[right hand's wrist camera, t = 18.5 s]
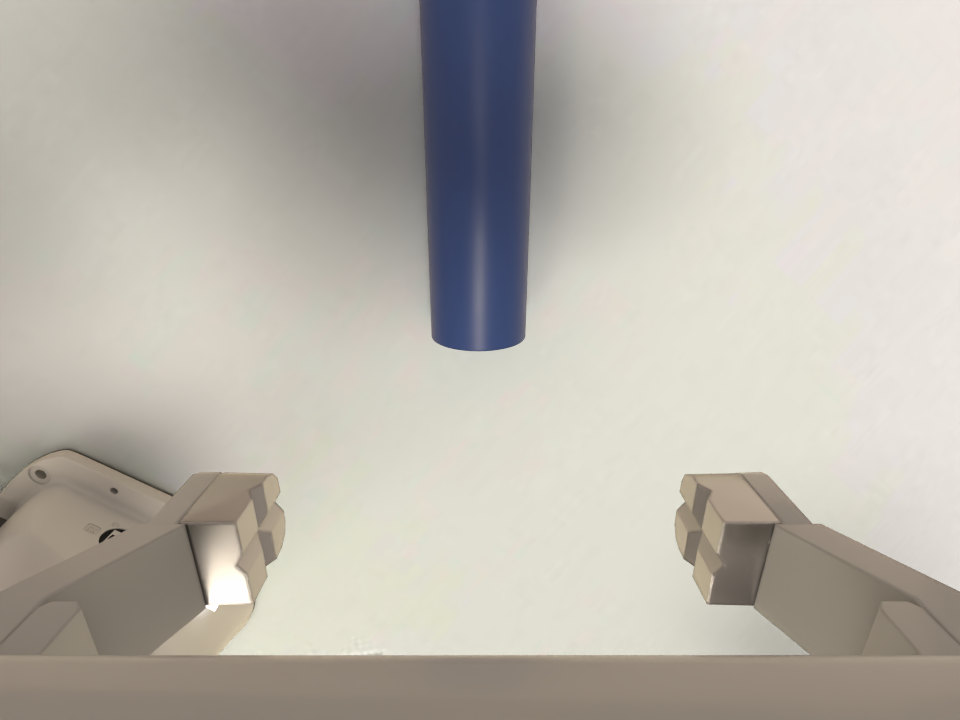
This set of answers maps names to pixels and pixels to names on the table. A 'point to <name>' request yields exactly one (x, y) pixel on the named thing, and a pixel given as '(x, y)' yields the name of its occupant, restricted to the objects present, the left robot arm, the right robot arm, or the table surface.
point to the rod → (478, 167)
